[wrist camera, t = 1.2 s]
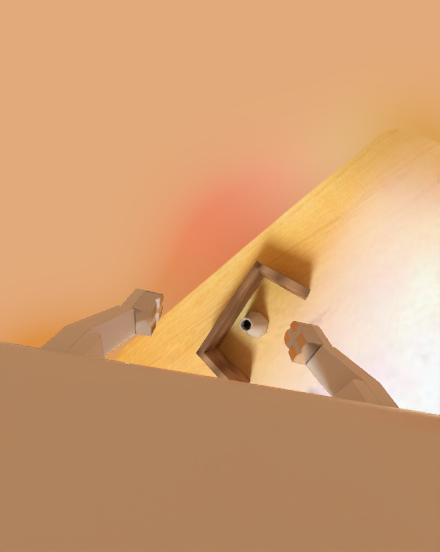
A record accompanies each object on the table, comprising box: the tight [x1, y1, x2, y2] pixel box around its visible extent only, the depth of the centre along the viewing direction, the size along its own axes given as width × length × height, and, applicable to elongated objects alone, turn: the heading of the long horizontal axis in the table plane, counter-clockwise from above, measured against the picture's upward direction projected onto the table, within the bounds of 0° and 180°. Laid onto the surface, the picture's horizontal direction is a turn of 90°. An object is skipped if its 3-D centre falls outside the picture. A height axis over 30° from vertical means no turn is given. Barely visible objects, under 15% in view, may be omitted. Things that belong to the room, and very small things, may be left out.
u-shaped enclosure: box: [196, 261, 310, 383], centre depth 43 cm, size 14×29×8 cm, turn 143°
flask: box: [239, 311, 269, 338], centre depth 43 cm, size 7×7×10 cm
